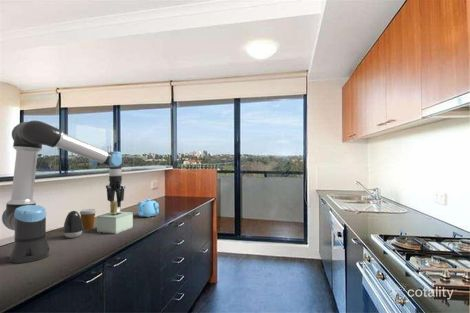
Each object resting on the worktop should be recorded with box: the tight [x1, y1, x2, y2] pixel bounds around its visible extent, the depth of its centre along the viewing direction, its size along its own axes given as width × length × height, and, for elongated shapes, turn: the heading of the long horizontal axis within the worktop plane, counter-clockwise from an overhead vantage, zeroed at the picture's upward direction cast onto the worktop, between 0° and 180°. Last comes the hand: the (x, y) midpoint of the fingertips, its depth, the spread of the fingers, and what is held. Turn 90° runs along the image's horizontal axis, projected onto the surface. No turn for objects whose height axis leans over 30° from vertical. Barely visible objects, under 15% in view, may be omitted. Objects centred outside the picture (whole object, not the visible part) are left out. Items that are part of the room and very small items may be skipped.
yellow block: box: [109, 200, 122, 214], centre depth 177 cm, size 6×3×7 cm, turn 164°
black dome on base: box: [62, 210, 84, 239], centre depth 161 cm, size 10×10×15 cm
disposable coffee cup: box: [79, 208, 97, 231], centre depth 180 cm, size 10×10×12 cm
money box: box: [96, 211, 134, 235], centre depth 177 cm, size 16×14×10 cm
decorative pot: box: [136, 198, 160, 218], centre depth 218 cm, size 16×16×14 cm
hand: (115, 211), depth 177 cm, fingers closed on yellow block, 3 cm apart
